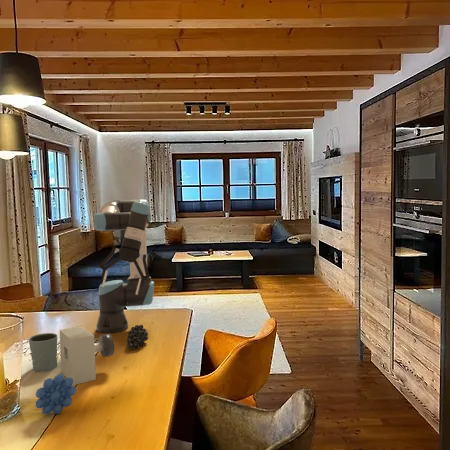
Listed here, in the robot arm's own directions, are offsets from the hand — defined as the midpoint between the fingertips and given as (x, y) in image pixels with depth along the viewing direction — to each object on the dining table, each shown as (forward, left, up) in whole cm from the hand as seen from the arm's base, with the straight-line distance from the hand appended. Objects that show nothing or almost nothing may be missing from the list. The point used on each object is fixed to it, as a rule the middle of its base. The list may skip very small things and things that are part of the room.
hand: (119, 290), depth 184 cm
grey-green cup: (-8, -28, -28) cm, 40 cm away
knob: (+8, -13, -22) cm, 27 cm away
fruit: (-10, +10, -28) cm, 31 cm away
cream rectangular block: (+8, -20, -27) cm, 35 cm away
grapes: (+33, -34, -28) cm, 55 cm away
